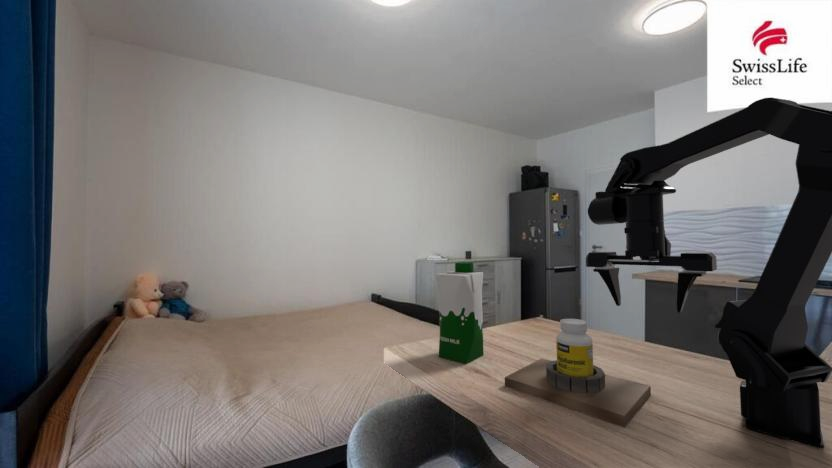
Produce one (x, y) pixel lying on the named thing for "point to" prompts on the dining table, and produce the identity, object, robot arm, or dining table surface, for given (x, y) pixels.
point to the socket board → (585, 403)
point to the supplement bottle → (574, 349)
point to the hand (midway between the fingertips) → (647, 308)
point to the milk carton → (460, 313)
